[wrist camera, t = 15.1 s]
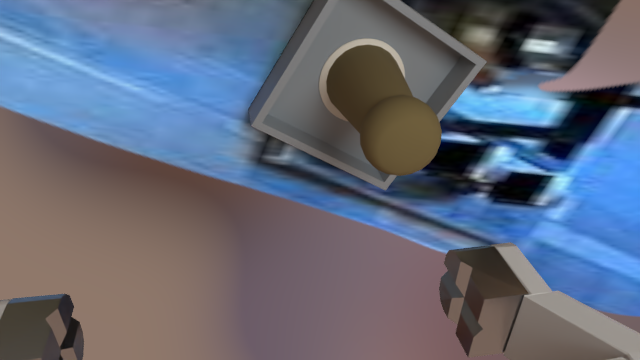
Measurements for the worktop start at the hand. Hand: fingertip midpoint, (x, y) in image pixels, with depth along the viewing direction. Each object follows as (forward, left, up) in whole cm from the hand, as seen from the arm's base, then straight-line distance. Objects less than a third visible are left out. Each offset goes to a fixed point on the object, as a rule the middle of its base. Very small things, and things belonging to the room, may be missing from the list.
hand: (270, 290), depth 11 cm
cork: (+10, -7, -28) cm, 31 cm away
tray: (+10, -7, -29) cm, 32 cm away
